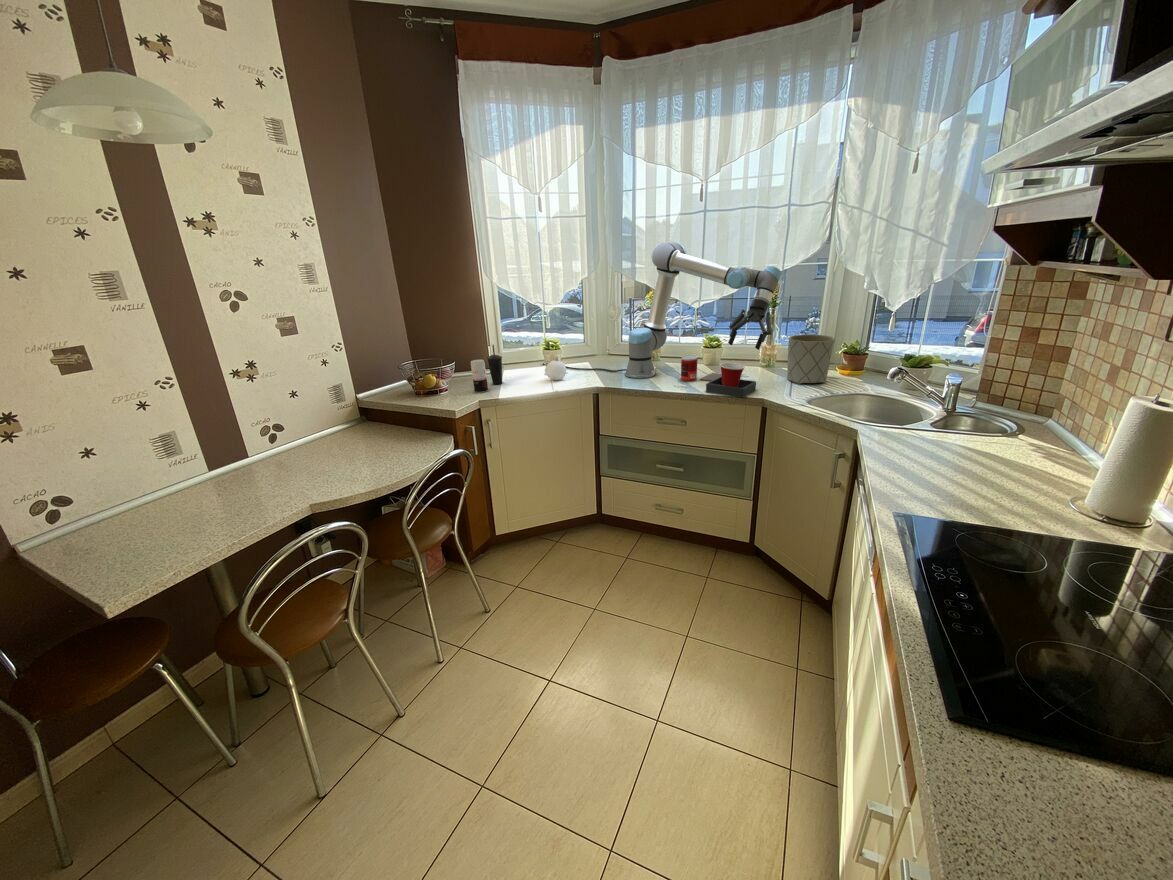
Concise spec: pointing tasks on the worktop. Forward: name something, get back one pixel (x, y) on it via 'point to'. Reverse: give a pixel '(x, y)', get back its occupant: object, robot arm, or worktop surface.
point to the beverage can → (479, 376)
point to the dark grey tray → (731, 388)
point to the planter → (809, 358)
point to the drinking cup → (495, 368)
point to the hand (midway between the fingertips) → (743, 346)
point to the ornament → (556, 369)
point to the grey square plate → (711, 377)
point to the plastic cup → (731, 374)
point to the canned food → (688, 368)
